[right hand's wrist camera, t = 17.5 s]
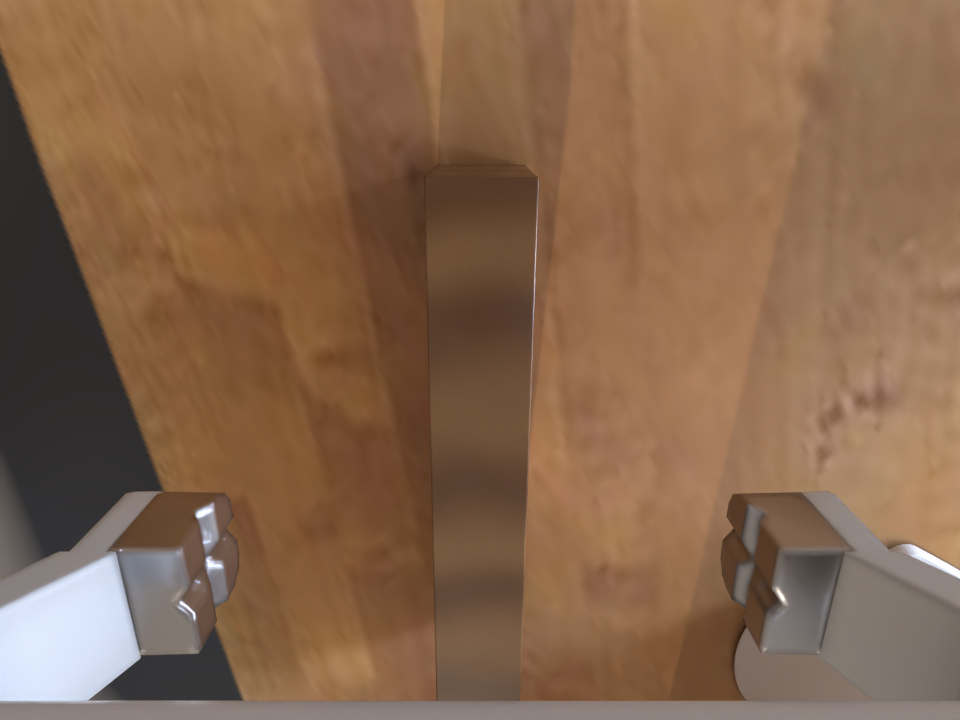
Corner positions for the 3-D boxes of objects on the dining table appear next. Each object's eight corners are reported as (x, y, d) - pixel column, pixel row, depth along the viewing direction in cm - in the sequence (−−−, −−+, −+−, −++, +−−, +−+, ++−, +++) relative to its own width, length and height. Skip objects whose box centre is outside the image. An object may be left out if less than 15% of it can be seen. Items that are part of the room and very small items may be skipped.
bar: (436, 164, 33) (423, 176, 25) (525, 165, 33) (539, 177, 25) (444, 600, 43) (436, 703, 35) (512, 600, 43) (520, 704, 35)
